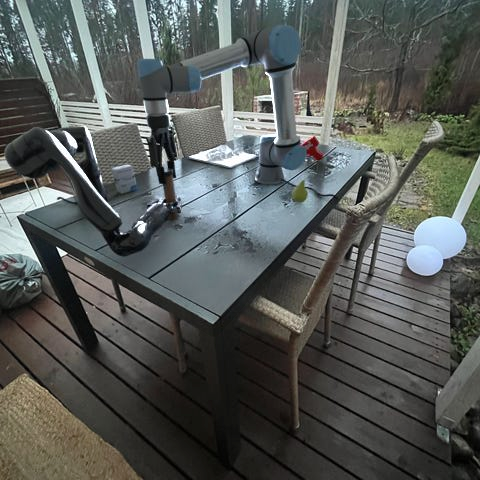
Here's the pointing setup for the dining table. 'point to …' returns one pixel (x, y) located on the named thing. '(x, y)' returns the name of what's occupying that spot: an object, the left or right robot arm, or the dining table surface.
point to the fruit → (300, 192)
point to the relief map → (223, 156)
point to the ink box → (124, 178)
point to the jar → (170, 193)
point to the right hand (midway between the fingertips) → (167, 180)
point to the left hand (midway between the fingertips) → (173, 198)
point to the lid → (168, 171)
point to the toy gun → (312, 148)
